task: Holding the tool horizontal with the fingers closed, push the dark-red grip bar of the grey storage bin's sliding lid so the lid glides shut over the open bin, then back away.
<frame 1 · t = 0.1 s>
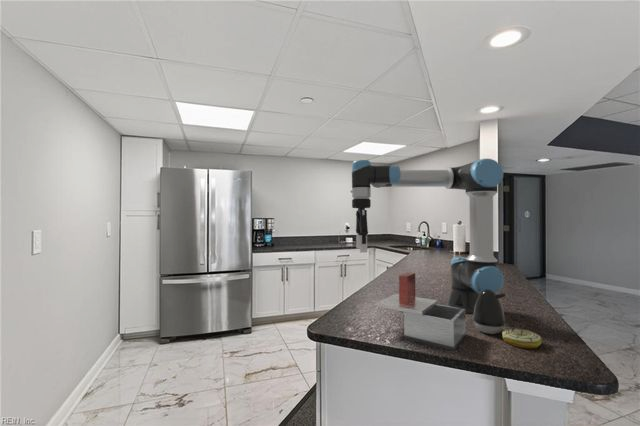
hand: (361, 250, 126), 28 cm above the counter, tool pointing down, fingers open, 13 cm apart
decorated donut: (521, 344, 101), on the counter
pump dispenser: (489, 332, 111), on the counter
lid: (407, 289, 113), point 15 cm above the counter, slide at 10.0 cm
grey storage bin: (435, 336, 107), on the counter
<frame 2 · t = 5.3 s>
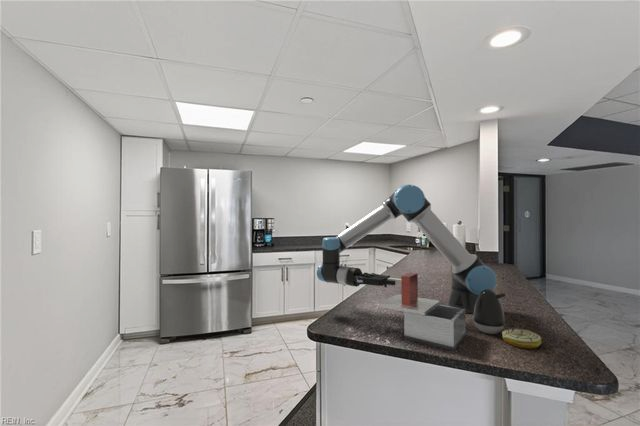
hand: (404, 283, 113), 17 cm above the counter, tool horizontal, fingers closed
lid: (409, 289, 113), point 15 cm above the counter, slide at 9.1 cm, touching gripper
everything else where it was.
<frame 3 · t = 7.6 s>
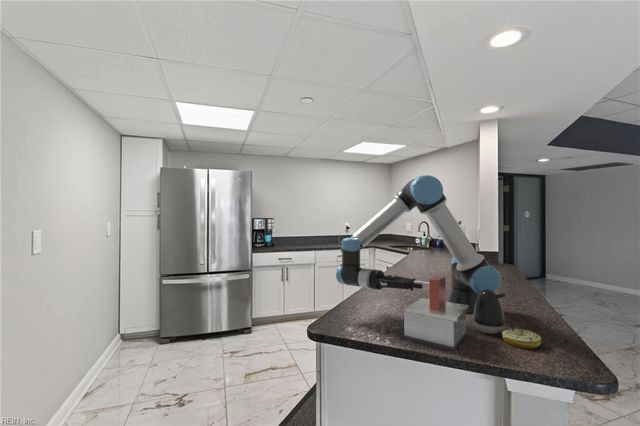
hand: (432, 287, 108), 17 cm above the counter, tool horizontal, fingers closed
lid: (437, 294, 107), point 15 cm above the counter, slide at -0.9 cm, touching gripper
everything else where it was.
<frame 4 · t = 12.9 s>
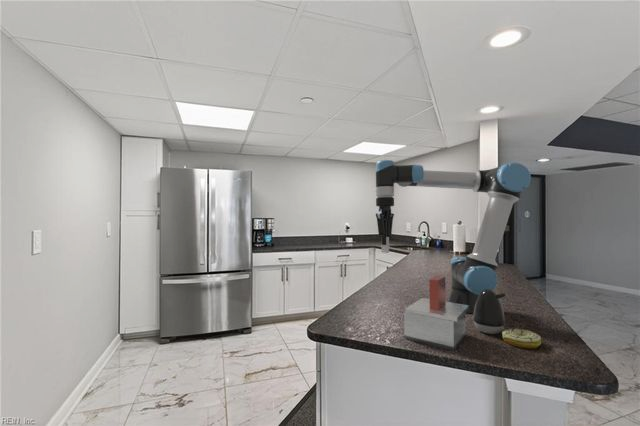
hand: (385, 252, 131), 26 cm above the counter, tool pointing down, fingers closed
lid: (437, 294, 107), point 15 cm above the counter, slide at -0.9 cm
everything else where it was.
at the end: lid slide at -0.9 cm; lid touching nothing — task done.
